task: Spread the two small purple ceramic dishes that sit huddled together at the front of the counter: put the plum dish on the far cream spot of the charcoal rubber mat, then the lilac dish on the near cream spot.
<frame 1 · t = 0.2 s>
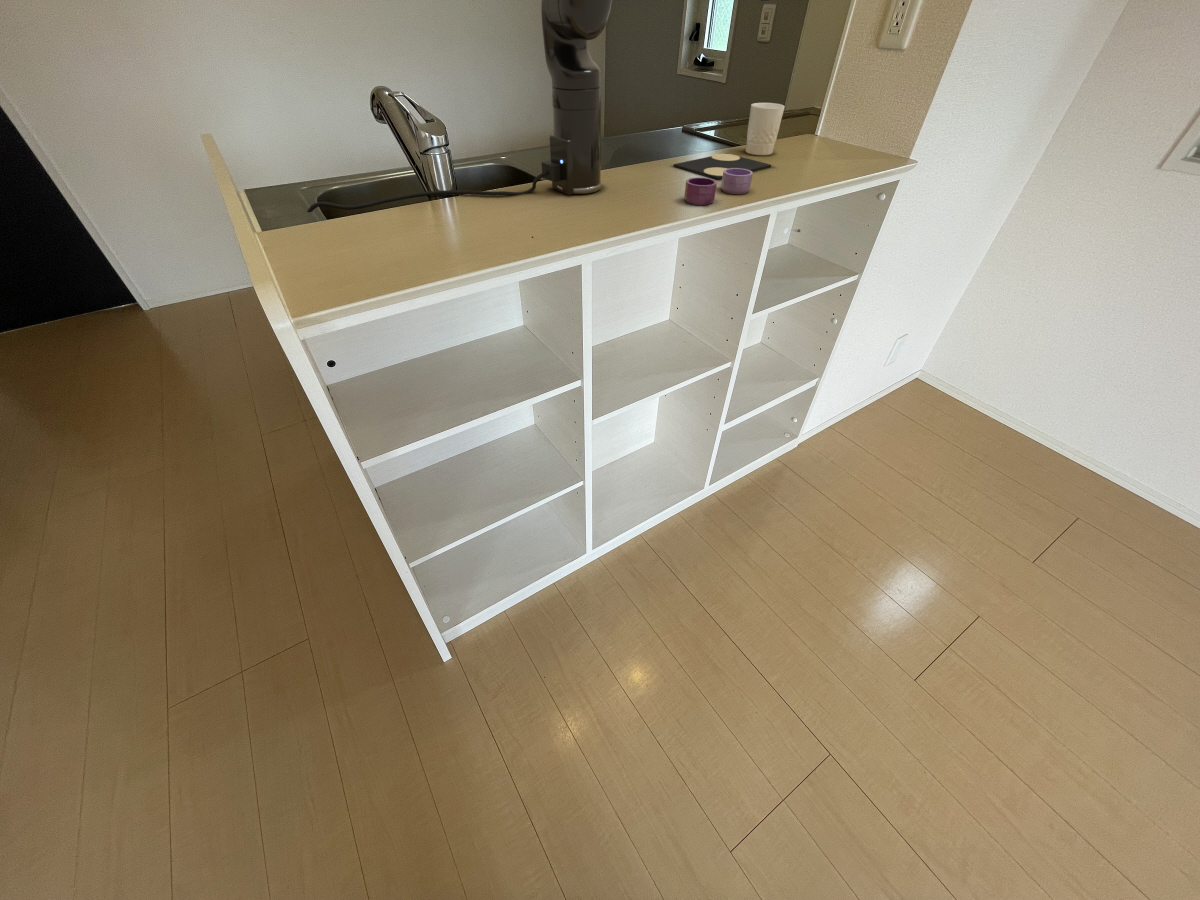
hand: (748, 0, 105), 29 cm above the counter, tool pointing down, fingers open, 8 cm apart
plum dish: (699, 201, 99), on the counter
lilac dish: (734, 190, 104), on the counter
white cup: (758, 153, 128), on the counter
mat: (722, 166, 118), on the counter
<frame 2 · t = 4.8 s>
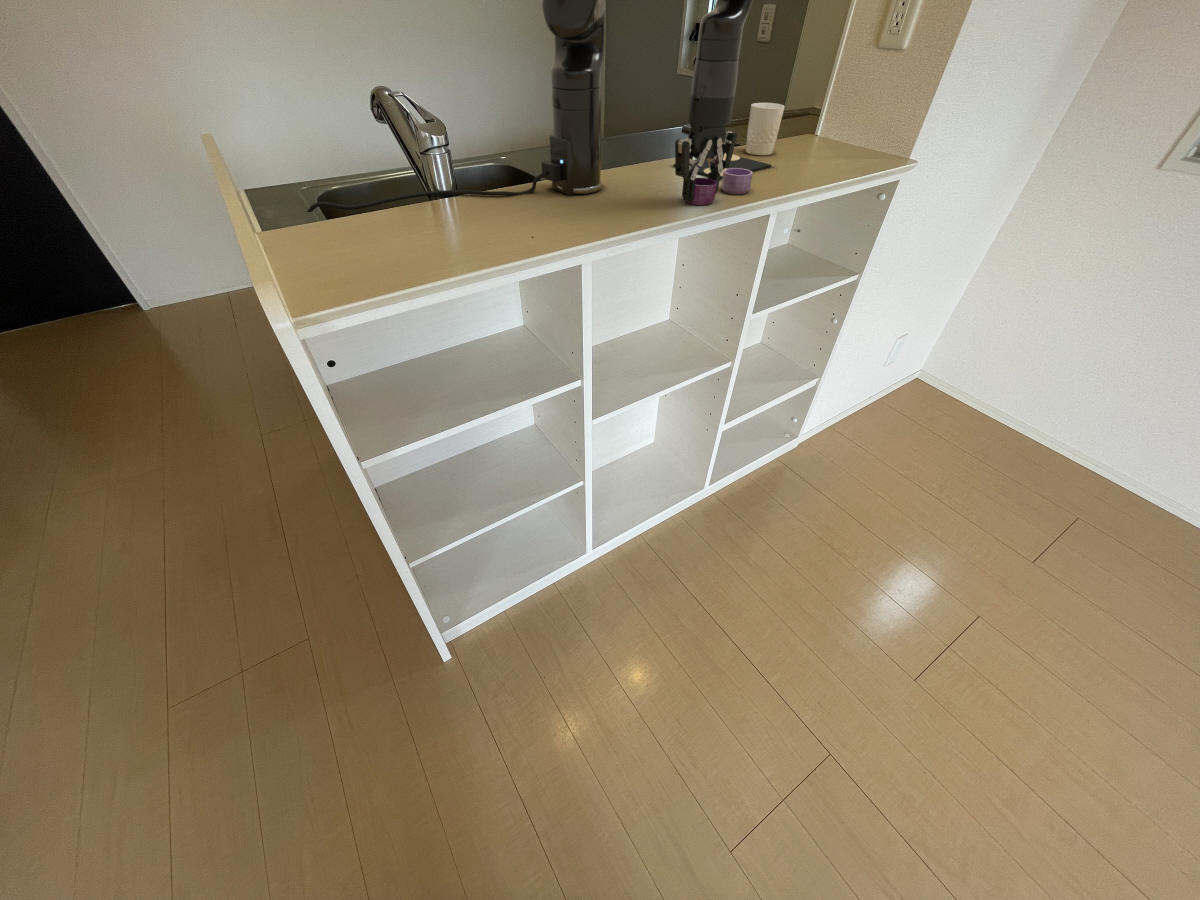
hand: (699, 196, 98), 1 cm above the counter, tool pointing down, fingers closed on plum dish, 6 cm apart
plum dish: (699, 201, 99), on the counter, touching gripper
everything else where it was.
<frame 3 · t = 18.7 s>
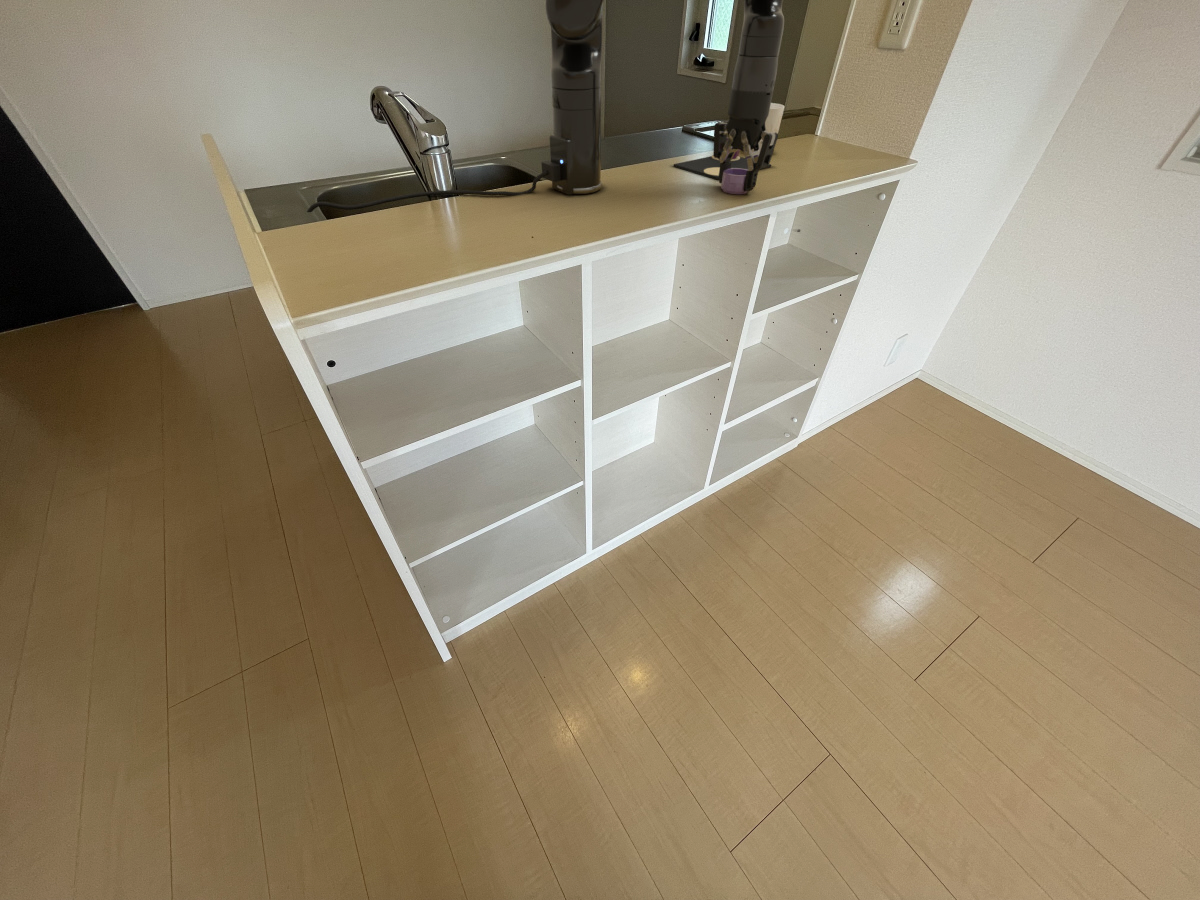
hand: (735, 186, 103), 1 cm above the counter, tool pointing down, fingers closed on lilac dish, 6 cm apart
plum dish: (726, 157, 122), point 1 cm above the counter, touching mat
lilac dish: (734, 190, 104), on the counter, touching gripper
everything else where it was.
when the fingers open (1 cm above the counter, at t = 25.3 s): lilac dish stays where it is, resting on mat.
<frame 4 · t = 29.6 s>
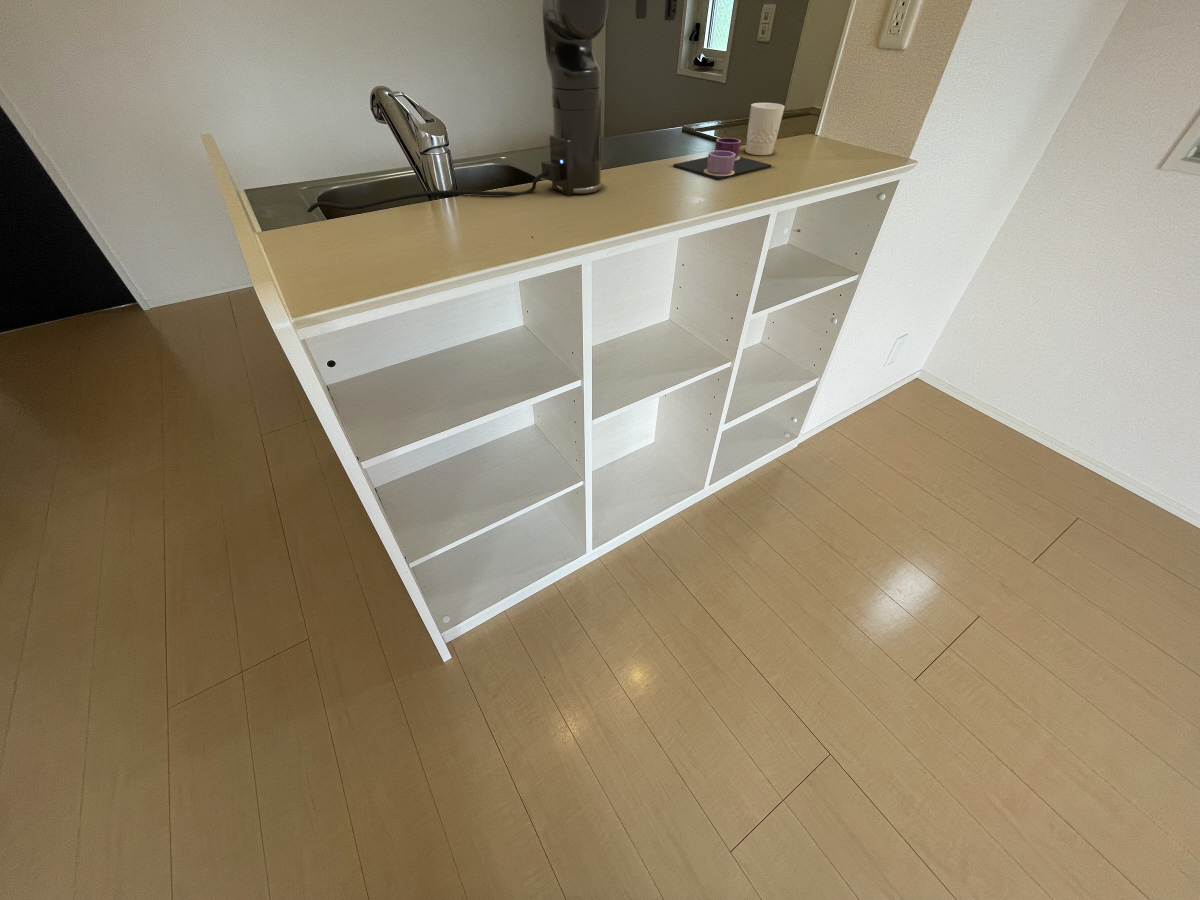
hand: (654, 19, 101), 26 cm above the counter, tool pointing down, fingers open, 8 cm apart
lilac dish: (719, 171, 113), point 1 cm above the counter, touching mat
everything else where it was.
at the end: plum dish 0.1 cm from the target spot on the mat, point 0.6 cm above the mat's base; lilac dish 0.1 cm from the target spot on the mat, point 0.6 cm above the mat's base; plum dish tilted 0° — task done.
